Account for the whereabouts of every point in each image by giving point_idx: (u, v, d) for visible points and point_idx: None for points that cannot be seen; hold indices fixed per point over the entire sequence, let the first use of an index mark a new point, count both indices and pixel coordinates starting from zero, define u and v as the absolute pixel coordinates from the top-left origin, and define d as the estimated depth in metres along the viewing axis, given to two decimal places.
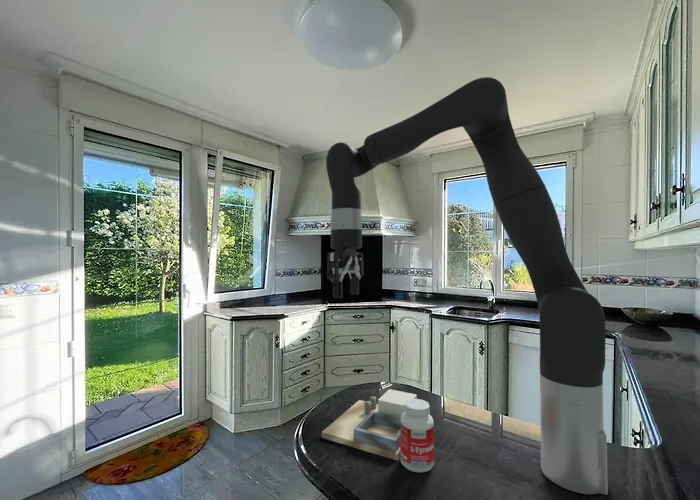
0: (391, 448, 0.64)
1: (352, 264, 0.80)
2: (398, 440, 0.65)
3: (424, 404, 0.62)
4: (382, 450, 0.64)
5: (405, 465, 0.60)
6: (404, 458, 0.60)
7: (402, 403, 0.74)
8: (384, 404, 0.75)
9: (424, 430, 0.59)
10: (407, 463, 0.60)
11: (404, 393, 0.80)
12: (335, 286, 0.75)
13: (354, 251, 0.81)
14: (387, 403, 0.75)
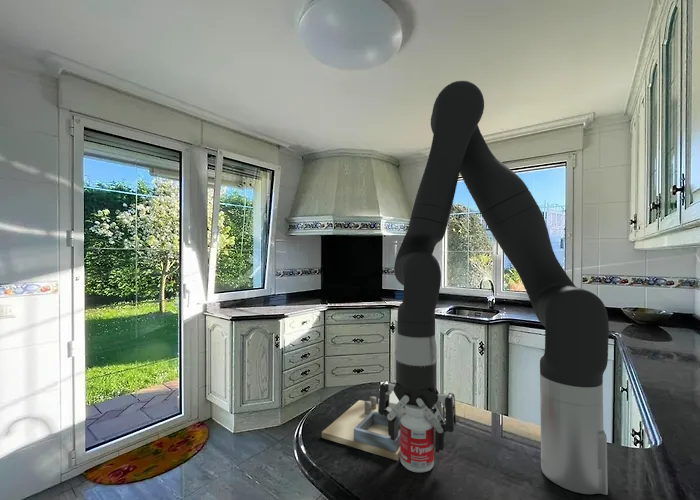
0: (391, 448, 0.64)
1: None
2: (398, 440, 0.65)
3: None
4: (382, 450, 0.64)
5: (405, 465, 0.60)
6: (404, 458, 0.60)
7: None
8: None
9: (424, 430, 0.59)
10: (407, 463, 0.60)
11: None
12: (444, 437, 0.60)
13: None
14: None
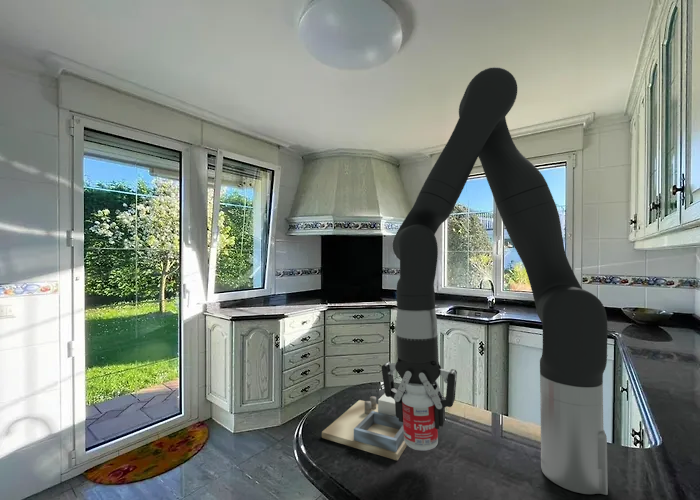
0: (391, 448, 0.64)
1: None
2: (398, 440, 0.65)
3: None
4: (382, 450, 0.64)
5: (409, 444, 0.59)
6: (408, 437, 0.60)
7: None
8: (384, 404, 0.75)
9: (427, 407, 0.59)
10: (411, 442, 0.59)
11: None
12: (443, 413, 0.59)
13: None
14: (387, 403, 0.75)
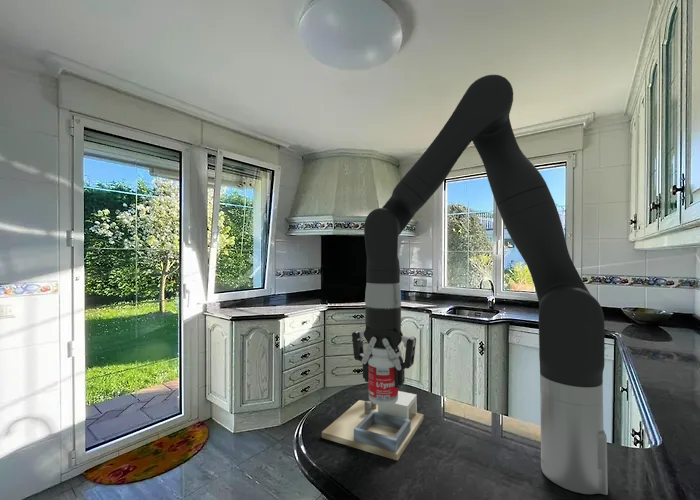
0: (391, 448, 0.64)
1: None
2: (398, 440, 0.65)
3: None
4: (382, 450, 0.64)
5: (372, 400, 0.68)
6: (371, 394, 0.68)
7: (402, 403, 0.74)
8: None
9: (388, 368, 0.67)
10: (373, 398, 0.68)
11: (404, 393, 0.80)
12: (403, 374, 0.68)
13: None
14: None
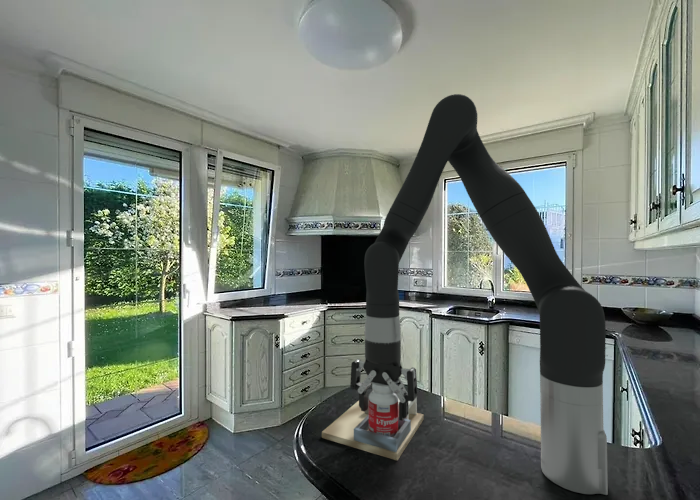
0: (391, 448, 0.64)
1: None
2: (398, 440, 0.65)
3: None
4: (382, 450, 0.64)
5: None
6: (371, 430, 0.68)
7: None
8: None
9: (388, 405, 0.67)
10: None
11: None
12: (407, 406, 0.67)
13: None
14: None
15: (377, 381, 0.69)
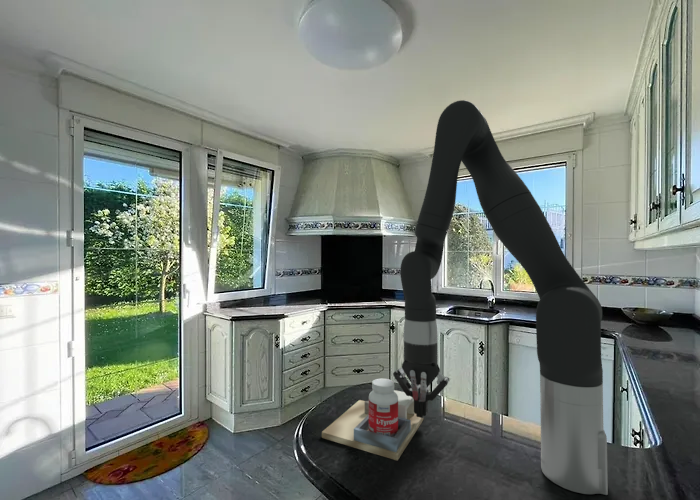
0: (391, 448, 0.64)
1: None
2: (398, 440, 0.65)
3: (390, 382, 0.69)
4: (382, 450, 0.64)
5: None
6: (371, 430, 0.68)
7: (401, 403, 0.74)
8: None
9: (388, 405, 0.67)
10: None
11: (402, 393, 0.80)
12: (426, 405, 0.74)
13: None
14: None
15: None
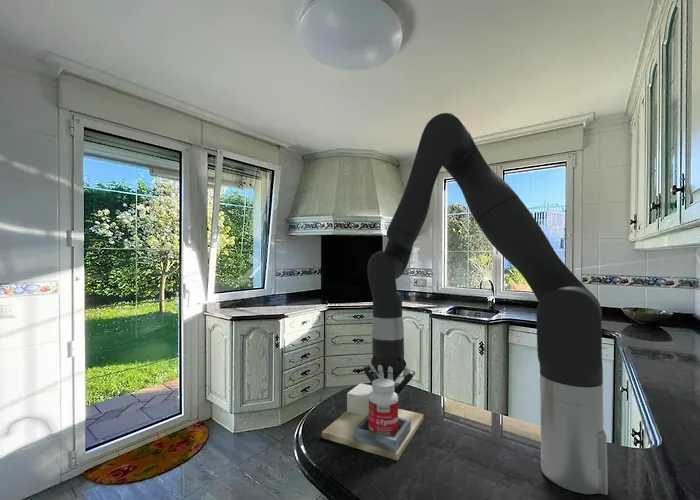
0: (391, 448, 0.64)
1: None
2: (398, 440, 0.65)
3: (390, 382, 0.69)
4: (382, 450, 0.64)
5: None
6: (371, 430, 0.68)
7: None
8: (353, 397, 0.79)
9: (388, 405, 0.67)
10: None
11: None
12: None
13: None
14: (355, 396, 0.79)
15: None
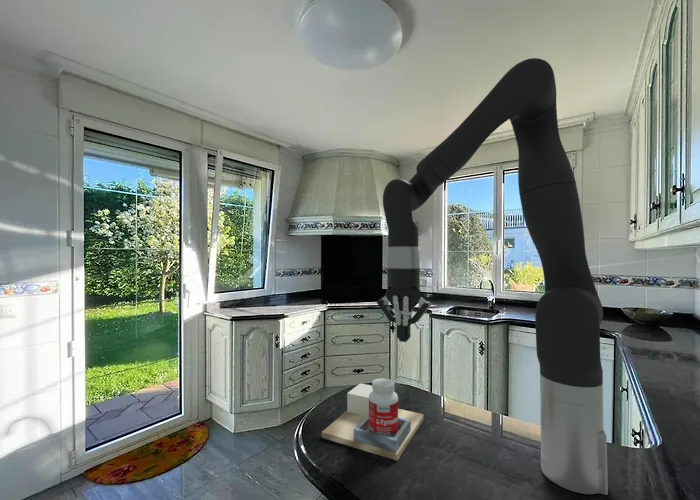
0: (391, 448, 0.64)
1: None
2: (398, 440, 0.65)
3: (390, 382, 0.69)
4: (382, 450, 0.64)
5: None
6: (371, 430, 0.68)
7: None
8: (353, 397, 0.79)
9: (388, 405, 0.67)
10: None
11: None
12: (409, 329, 0.77)
13: None
14: (355, 396, 0.79)
15: None
